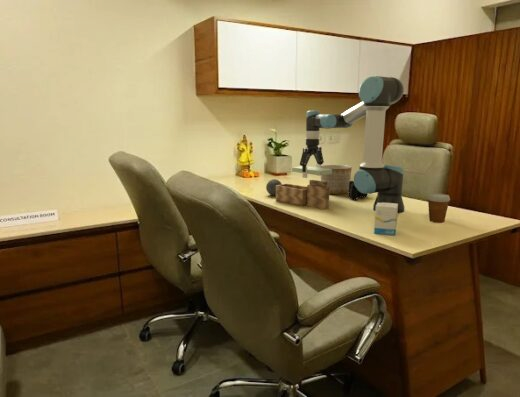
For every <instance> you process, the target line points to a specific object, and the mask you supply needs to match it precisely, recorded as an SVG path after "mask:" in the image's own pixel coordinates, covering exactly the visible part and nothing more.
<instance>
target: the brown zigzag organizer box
mask: <svg viewBox="0 0 520 397" xmlns="http://www.w3.org/2000/svg"><path fill="white" fill-rule="evenodd" d="M275 202H280V203H284V204H289V205H293V206H298V207H305V206H307V207H309V208H310V207H311V208H315V209H320V210H329V209H330V194H329V187H321V186H315V185H309V184H307V185H306V186H304V185H303V186H302V185H299V184H291V183H282V184H281V185H276V196H275Z"/></svg>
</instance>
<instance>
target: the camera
mask: <svg viewBox="0 0 520 397" xmlns="http://www.w3.org/2000/svg"><path fill="white" fill-rule="evenodd" d="M348 197H350V198H349V199H350V200H351V201H358V200H357V199H359V198H367V197H368V194H363V193H361V192H359V191H358V190H357V188H356V187H355V185H354V180H350V183H349V192H348Z"/></svg>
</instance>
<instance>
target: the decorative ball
mask: <svg viewBox="0 0 520 397" xmlns="http://www.w3.org/2000/svg"><path fill="white" fill-rule="evenodd" d="M281 184H283V183H282V182H281V181H280V180H278V179H271V180H268V182H267V184H266V187H265V189H266V192H267V194H269V195H270V196H273V197H274V196H275V197H276V185H281Z"/></svg>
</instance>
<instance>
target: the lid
mask: <svg viewBox="0 0 520 397" xmlns="http://www.w3.org/2000/svg"><path fill="white" fill-rule="evenodd" d="M306 166H307V175H314V176H318V175H319V176H318V177H321V175H326V174H332V169H326V168H318V167H316V166H308V165H306ZM291 172H292V173H299V174H300V173H301V174H303V172H302V166H301V165H299V166H293V167H291Z"/></svg>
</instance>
